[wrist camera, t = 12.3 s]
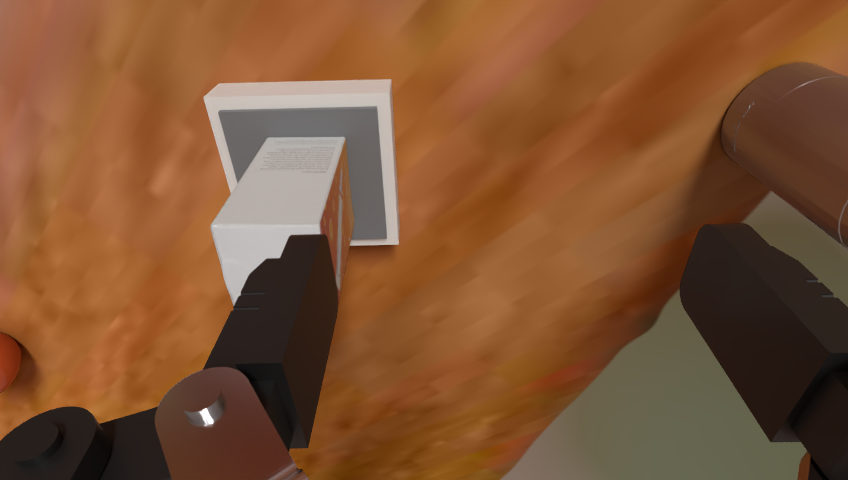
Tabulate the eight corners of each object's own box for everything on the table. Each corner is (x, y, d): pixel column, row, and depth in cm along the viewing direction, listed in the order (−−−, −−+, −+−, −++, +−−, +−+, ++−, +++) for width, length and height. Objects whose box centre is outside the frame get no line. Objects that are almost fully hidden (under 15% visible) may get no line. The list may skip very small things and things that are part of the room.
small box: (356, 221, 41) (335, 329, 31) (283, 222, 41) (238, 330, 31) (347, 133, 37) (320, 224, 26) (266, 134, 37) (205, 225, 26)
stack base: (391, 79, 38) (389, 94, 35) (399, 223, 46) (398, 247, 43) (219, 83, 38) (200, 99, 35) (257, 227, 46) (245, 251, 43)
